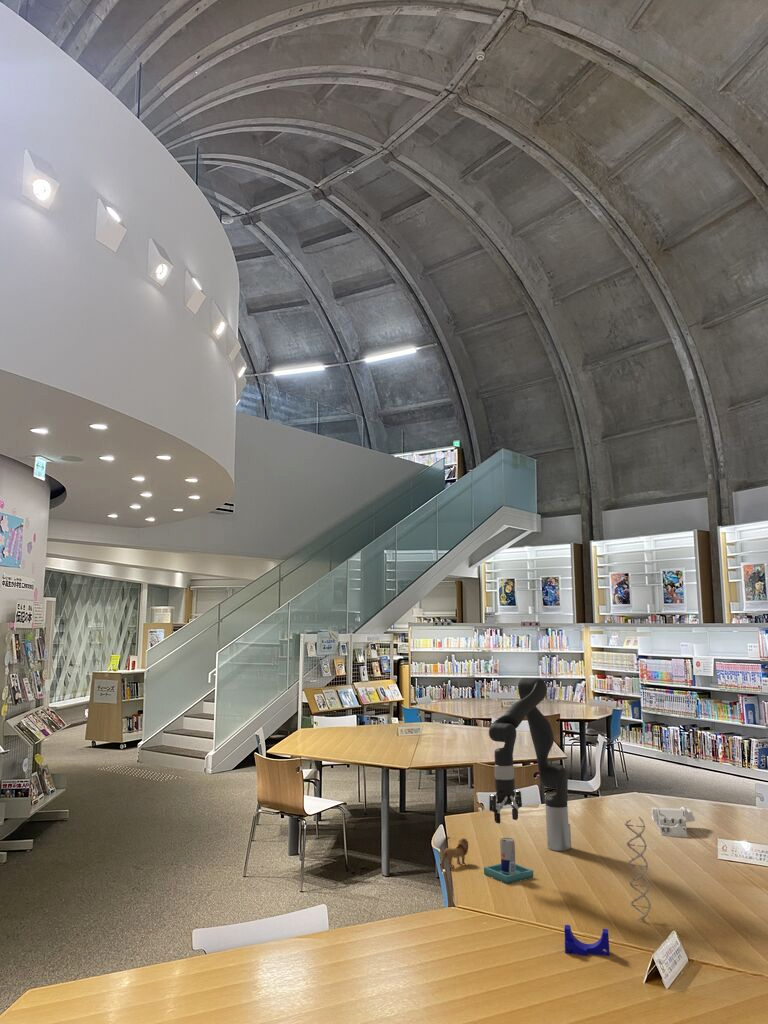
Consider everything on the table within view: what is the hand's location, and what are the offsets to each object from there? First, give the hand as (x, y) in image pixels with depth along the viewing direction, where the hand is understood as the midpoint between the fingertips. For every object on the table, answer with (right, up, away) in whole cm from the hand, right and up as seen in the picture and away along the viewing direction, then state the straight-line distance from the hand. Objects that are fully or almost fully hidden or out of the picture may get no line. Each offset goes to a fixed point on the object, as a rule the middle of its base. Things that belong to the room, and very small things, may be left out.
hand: (506, 821), depth 269 cm
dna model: (+35, -11, -45) cm, 58 cm away
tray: (0, -19, -3) cm, 19 cm away
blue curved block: (+11, -7, -69) cm, 70 cm away
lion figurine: (-19, -22, +11) cm, 31 cm away
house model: (+88, -30, +57) cm, 109 cm away
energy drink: (0, -18, -3) cm, 19 cm away
